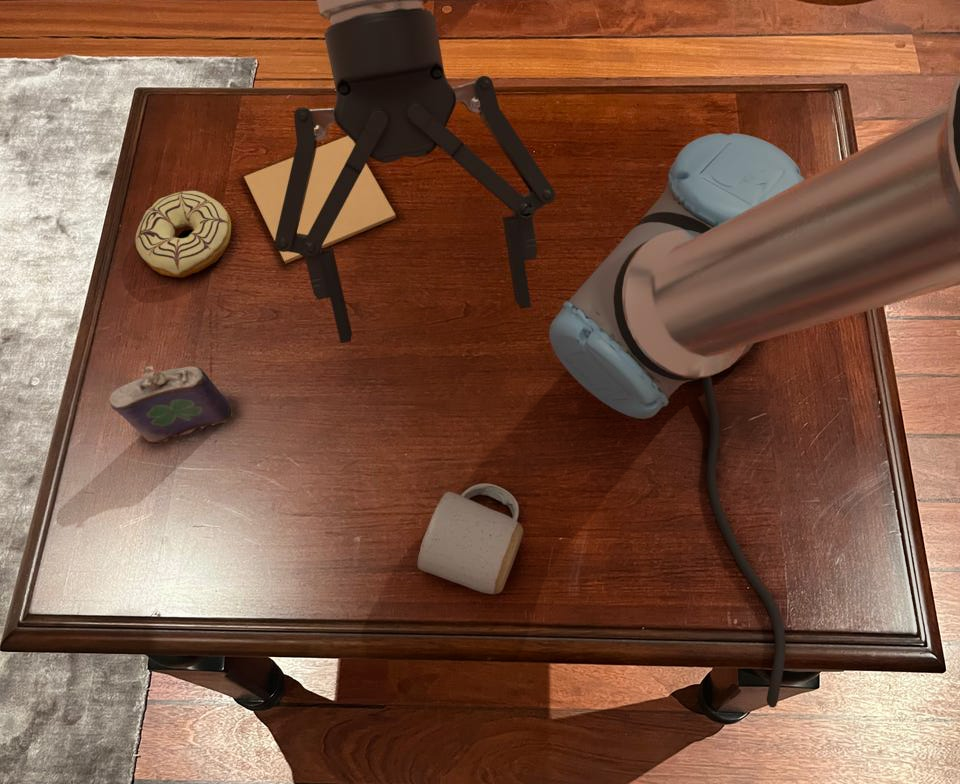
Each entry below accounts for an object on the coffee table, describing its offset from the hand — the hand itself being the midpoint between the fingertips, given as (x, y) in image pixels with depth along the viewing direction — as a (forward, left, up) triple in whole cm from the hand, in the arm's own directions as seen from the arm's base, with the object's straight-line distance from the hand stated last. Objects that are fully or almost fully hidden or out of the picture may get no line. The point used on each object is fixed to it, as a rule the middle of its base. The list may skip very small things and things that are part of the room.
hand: (435, 321), depth 60 cm
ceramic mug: (-10, +3, -24) cm, 26 cm away
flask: (+15, +24, -24) cm, 37 cm away
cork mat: (+36, +1, -24) cm, 43 cm away
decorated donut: (+37, +17, -24) cm, 47 cm away
